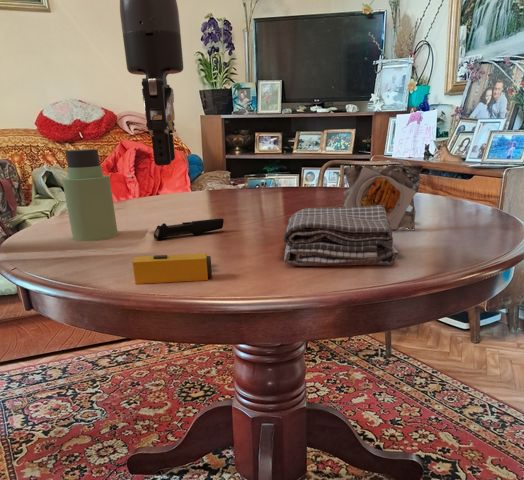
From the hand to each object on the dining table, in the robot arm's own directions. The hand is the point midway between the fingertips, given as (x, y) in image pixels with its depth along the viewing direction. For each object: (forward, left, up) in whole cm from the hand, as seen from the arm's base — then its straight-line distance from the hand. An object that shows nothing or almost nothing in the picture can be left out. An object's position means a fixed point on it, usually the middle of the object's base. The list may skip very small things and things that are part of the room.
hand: (165, 162), depth 74 cm
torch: (-1, -1, -17) cm, 17 cm away
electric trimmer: (0, +33, -17) cm, 37 cm away
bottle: (-19, +30, -17) cm, 39 cm away
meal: (+40, +27, -17) cm, 51 cm away
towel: (+27, +6, -17) cm, 33 cm away
